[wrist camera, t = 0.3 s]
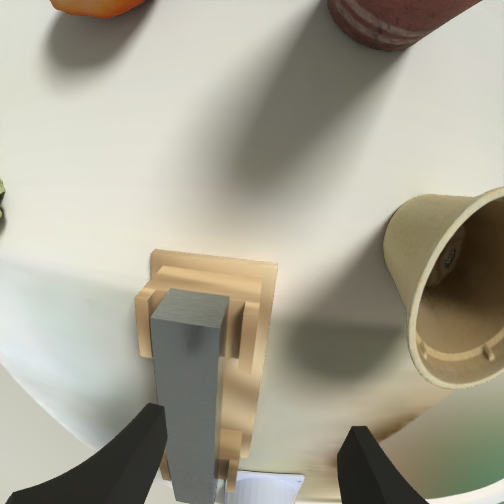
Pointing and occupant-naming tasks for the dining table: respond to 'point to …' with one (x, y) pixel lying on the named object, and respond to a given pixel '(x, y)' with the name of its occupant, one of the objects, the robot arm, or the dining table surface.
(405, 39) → the can
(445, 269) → the flower pot
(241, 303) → the tan piece
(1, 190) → the washcloth
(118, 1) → the fruit
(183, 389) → the rail
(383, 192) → the dining table surface
